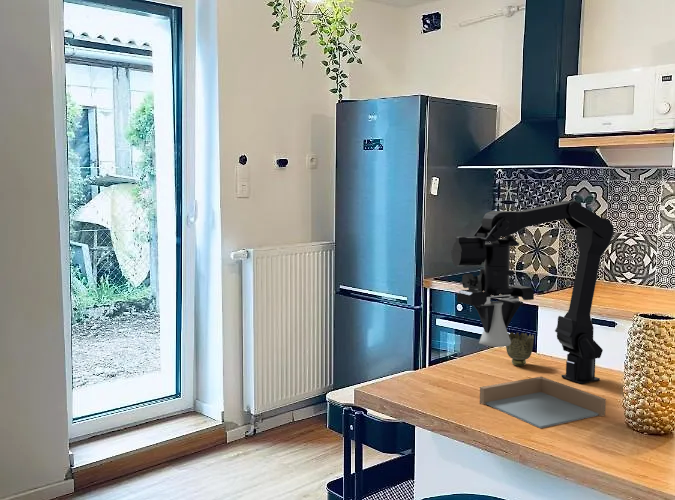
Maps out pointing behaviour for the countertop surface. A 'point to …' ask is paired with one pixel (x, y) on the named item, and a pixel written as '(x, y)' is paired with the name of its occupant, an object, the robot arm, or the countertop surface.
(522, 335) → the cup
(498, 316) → the flask
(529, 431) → the countertop surface
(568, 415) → the corner arena
